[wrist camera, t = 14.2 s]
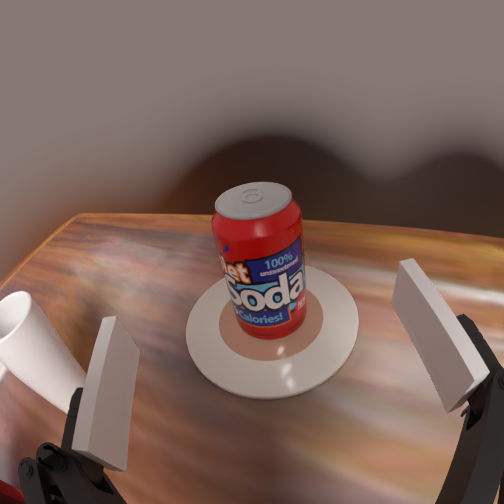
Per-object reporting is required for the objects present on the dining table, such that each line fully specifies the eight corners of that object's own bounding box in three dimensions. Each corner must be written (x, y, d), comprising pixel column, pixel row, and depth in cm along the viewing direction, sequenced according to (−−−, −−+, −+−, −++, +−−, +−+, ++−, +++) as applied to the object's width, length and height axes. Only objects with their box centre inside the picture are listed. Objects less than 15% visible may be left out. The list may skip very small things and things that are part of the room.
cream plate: (352, 267, 40) (352, 261, 39) (360, 402, 24) (362, 397, 24) (213, 268, 45) (211, 262, 44) (165, 386, 29) (161, 381, 28)
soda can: (297, 288, 37) (287, 172, 28) (314, 336, 30) (311, 209, 22) (235, 300, 37) (206, 188, 28) (241, 351, 30) (206, 229, 22)
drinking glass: (70, 436, 23) (-25, 354, 15) (62, 392, 28) (-14, 306, 20) (117, 417, 26) (29, 326, 17) (104, 373, 31) (34, 279, 22)
